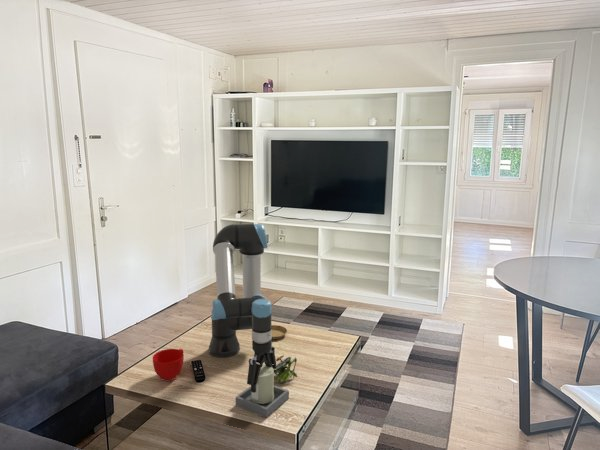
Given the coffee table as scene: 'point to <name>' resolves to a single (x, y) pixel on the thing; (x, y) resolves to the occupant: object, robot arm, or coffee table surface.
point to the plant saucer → (278, 331)
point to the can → (265, 385)
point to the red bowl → (168, 363)
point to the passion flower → (282, 366)
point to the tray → (262, 409)
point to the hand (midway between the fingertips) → (262, 392)
